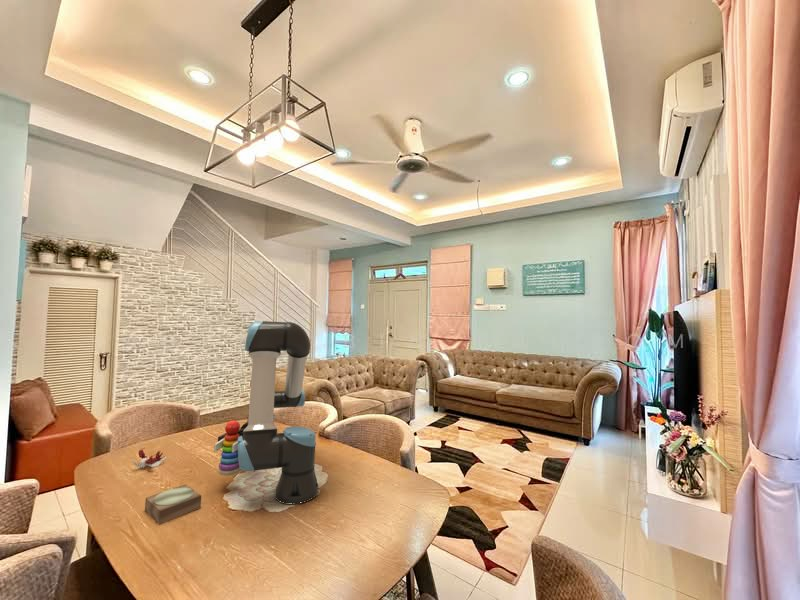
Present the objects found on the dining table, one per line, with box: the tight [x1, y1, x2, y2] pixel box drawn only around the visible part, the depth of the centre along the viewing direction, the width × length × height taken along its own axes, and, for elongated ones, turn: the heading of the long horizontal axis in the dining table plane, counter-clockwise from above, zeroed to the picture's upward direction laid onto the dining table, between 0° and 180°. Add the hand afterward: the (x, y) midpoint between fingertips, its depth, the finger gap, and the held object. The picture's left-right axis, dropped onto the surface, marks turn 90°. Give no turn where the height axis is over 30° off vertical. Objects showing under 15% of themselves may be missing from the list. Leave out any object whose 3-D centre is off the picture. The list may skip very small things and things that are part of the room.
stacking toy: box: [217, 420, 242, 477], centre depth 128 cm, size 8×8×19 cm
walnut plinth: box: [144, 484, 202, 525], centre depth 113 cm, size 12×12×4 cm
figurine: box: [132, 447, 167, 469], centre depth 143 cm, size 15×12×7 cm
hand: (224, 448), depth 123 cm, fingers closed on stacking toy, 6 cm apart
